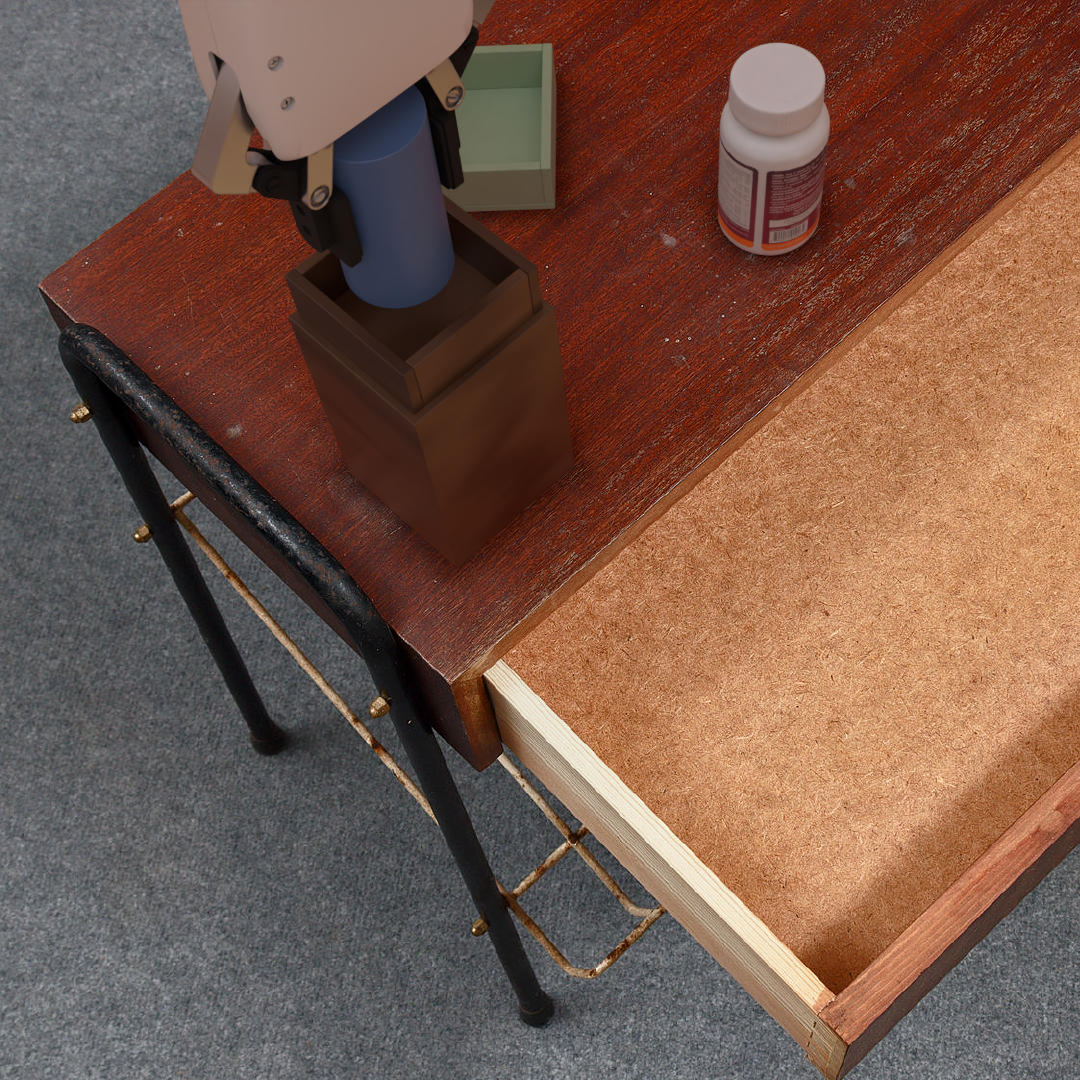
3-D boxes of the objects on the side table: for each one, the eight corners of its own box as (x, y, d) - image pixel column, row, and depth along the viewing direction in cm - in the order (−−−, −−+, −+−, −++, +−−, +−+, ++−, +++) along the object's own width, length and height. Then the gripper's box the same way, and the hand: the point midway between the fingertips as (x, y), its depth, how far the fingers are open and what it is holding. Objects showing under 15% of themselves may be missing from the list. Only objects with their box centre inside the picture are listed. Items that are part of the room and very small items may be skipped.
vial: (339, 310, 64) (293, 164, 56) (348, 222, 66) (304, 69, 58) (452, 307, 64) (422, 160, 56) (457, 219, 66) (429, 66, 58)
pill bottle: (830, 193, 89) (849, 47, 79) (802, 270, 86) (819, 129, 76) (733, 171, 90) (740, 23, 80) (703, 246, 87) (706, 104, 77)
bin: (389, 214, 89) (379, 174, 86) (398, 91, 94) (389, 49, 91) (555, 209, 89) (550, 168, 86) (556, 85, 94) (552, 42, 90)
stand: (457, 569, 78) (402, 387, 63) (348, 471, 81) (271, 275, 66) (575, 465, 81) (550, 266, 66) (465, 374, 84) (417, 163, 69)
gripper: (409, -362, 49) (471, 57, 66) (-5, -112, 44) (173, 276, 61) (564, -269, 47) (588, 143, 63) (144, 8, 42) (289, 378, 58)
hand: (384, 205), depth 62 cm, fingers closed on vial, 5 cm apart
